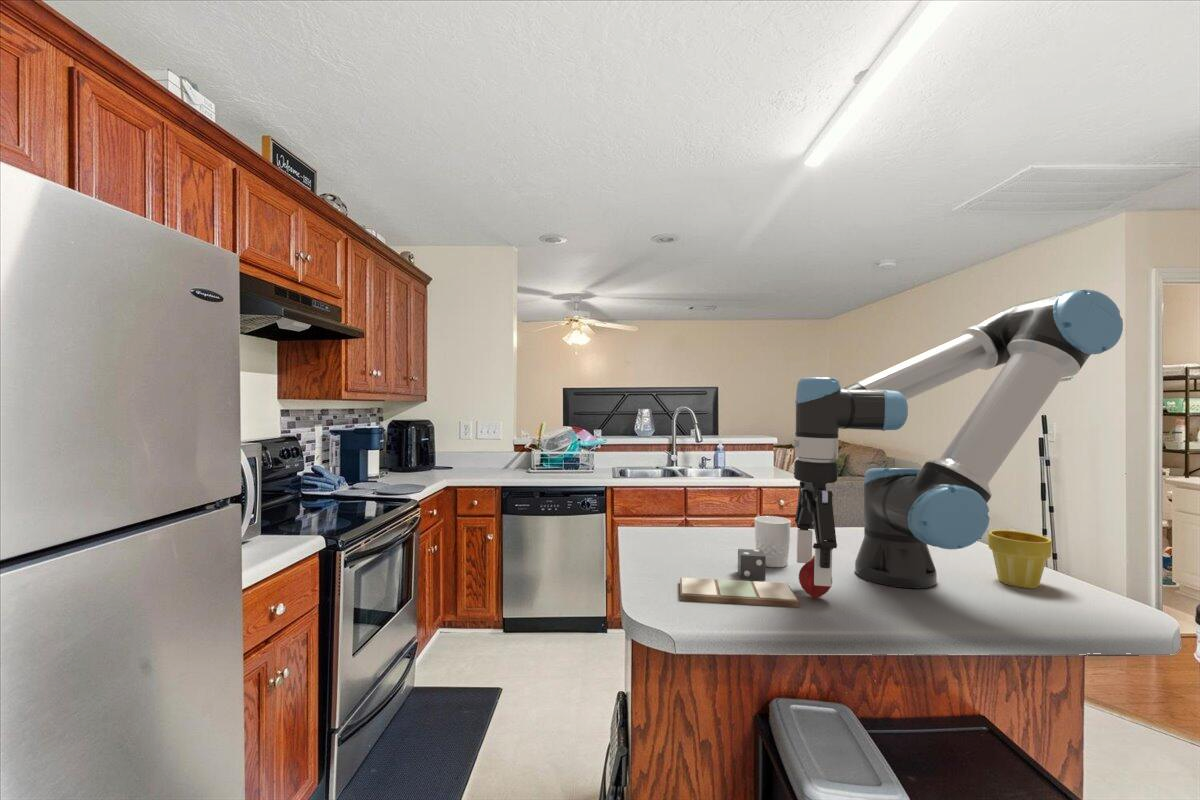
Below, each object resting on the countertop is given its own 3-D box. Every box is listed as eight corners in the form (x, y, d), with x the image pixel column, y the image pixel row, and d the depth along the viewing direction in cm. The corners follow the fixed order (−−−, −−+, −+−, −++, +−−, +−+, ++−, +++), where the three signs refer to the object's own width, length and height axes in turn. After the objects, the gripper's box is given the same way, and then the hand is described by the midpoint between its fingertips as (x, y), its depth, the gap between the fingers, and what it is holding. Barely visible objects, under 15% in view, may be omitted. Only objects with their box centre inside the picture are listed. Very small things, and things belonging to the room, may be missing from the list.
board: (787, 588, 107) (787, 582, 107) (799, 607, 97) (799, 600, 97) (680, 582, 110) (680, 576, 110) (680, 600, 100) (680, 593, 100)
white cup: (795, 568, 120) (795, 523, 120) (759, 568, 120) (760, 523, 120) (783, 558, 128) (784, 516, 128) (750, 558, 128) (750, 515, 128)
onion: (835, 605, 98) (835, 561, 98) (801, 602, 99) (801, 559, 99) (828, 594, 104) (828, 552, 104) (796, 592, 105) (796, 550, 105)
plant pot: (1064, 593, 105) (1064, 543, 105) (1005, 590, 107) (1006, 540, 107) (1031, 576, 116) (1031, 530, 116) (977, 573, 117) (978, 528, 117)
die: (761, 573, 117) (761, 549, 117) (765, 580, 112) (765, 555, 112) (737, 571, 118) (737, 548, 118) (740, 579, 112) (740, 554, 112)
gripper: (781, 453, 114) (779, 553, 114) (811, 466, 90) (808, 594, 90) (819, 454, 113) (816, 556, 113) (859, 468, 89) (856, 598, 89)
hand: (812, 573), depth 101 cm, fingers open, 13 cm apart
